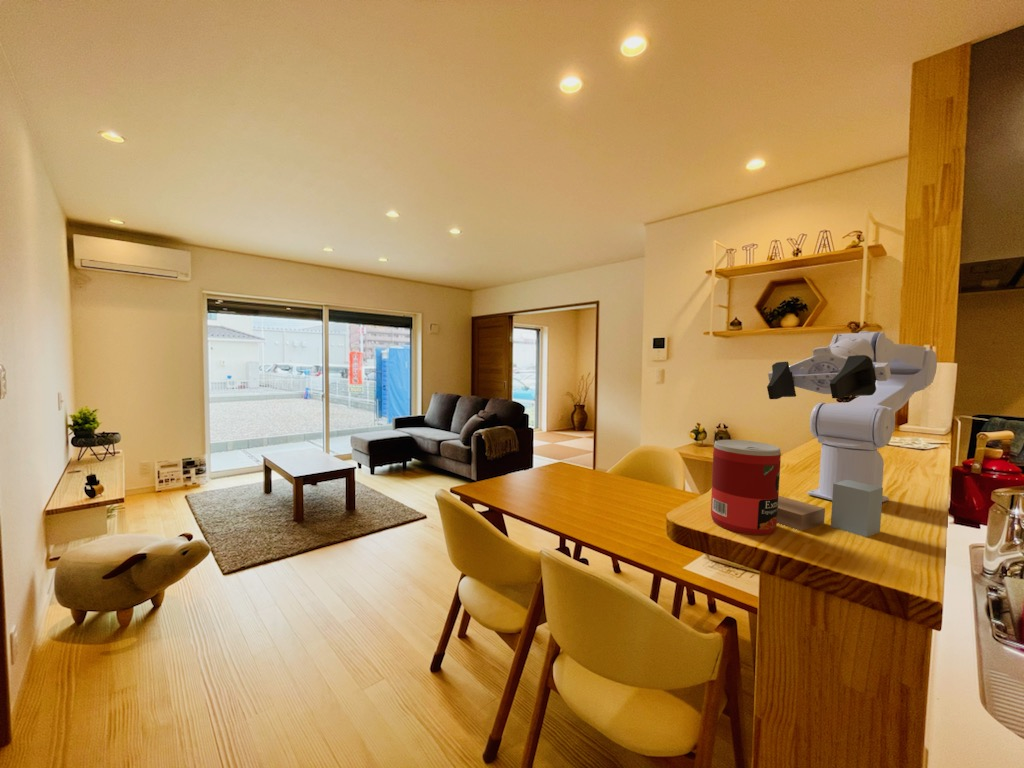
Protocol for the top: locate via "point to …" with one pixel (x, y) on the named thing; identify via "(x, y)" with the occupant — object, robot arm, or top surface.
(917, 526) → the top surface
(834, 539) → the top surface
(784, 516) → the walnut block
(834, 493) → the grey block
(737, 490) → the canned food
